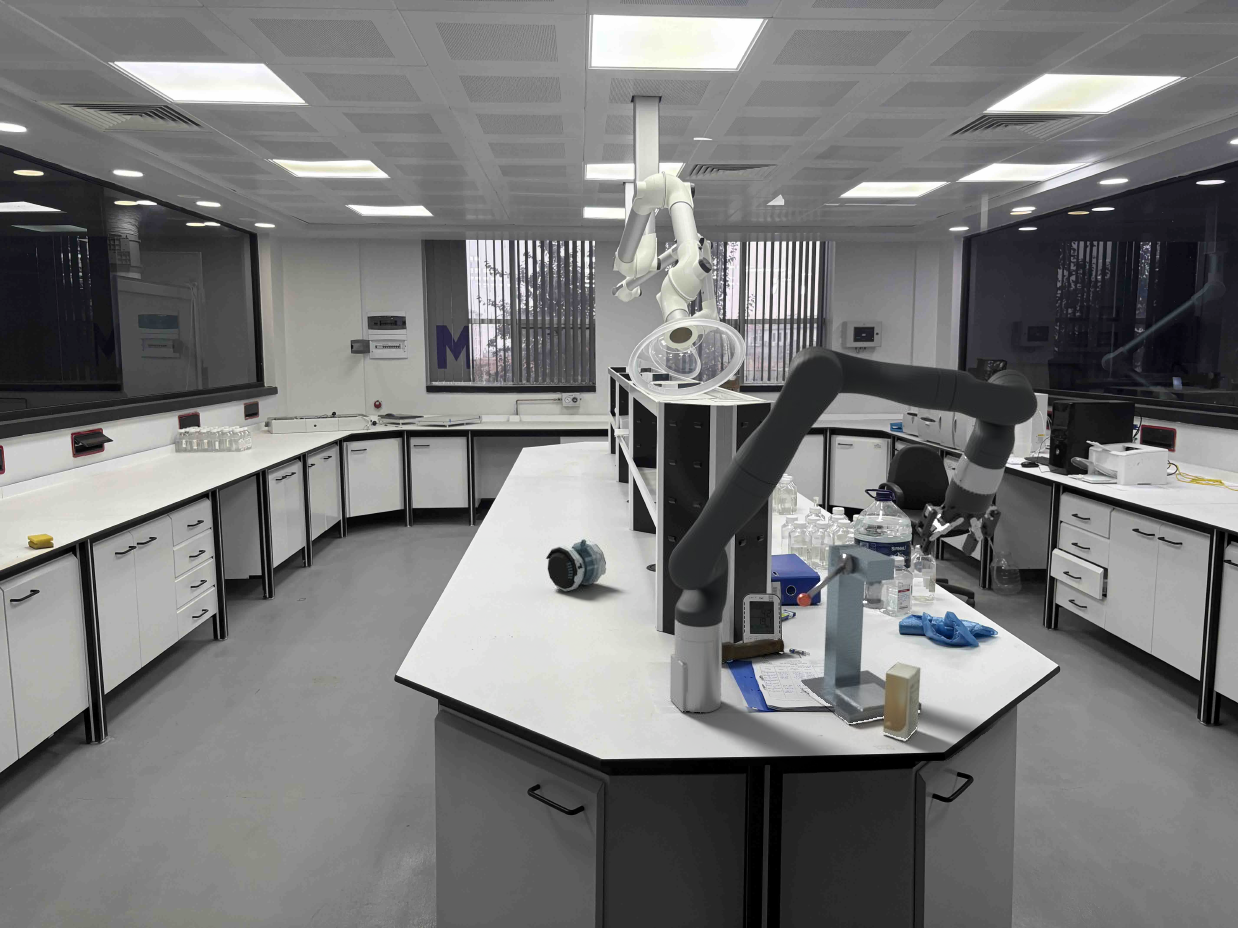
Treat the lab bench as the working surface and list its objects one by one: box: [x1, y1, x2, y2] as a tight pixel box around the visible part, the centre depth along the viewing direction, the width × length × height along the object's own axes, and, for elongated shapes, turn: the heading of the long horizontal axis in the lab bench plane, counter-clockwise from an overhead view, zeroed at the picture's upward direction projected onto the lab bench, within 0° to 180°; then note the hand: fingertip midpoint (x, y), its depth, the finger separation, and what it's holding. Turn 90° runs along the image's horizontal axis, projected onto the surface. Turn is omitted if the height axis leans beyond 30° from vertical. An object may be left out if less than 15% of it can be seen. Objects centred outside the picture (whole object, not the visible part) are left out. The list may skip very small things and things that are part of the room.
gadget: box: [545, 538, 607, 592], centre depth 234 cm, size 14×13×15 cm
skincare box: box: [882, 662, 921, 739], centre depth 145 cm, size 6×4×12 cm
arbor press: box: [796, 542, 922, 723], centre depth 156 cm, size 22×17×30 cm
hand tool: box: [722, 637, 785, 662], centre depth 181 cm, size 19×4×5 cm, turn 110°
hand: (945, 552), depth 149 cm, fingers open, 8 cm apart
